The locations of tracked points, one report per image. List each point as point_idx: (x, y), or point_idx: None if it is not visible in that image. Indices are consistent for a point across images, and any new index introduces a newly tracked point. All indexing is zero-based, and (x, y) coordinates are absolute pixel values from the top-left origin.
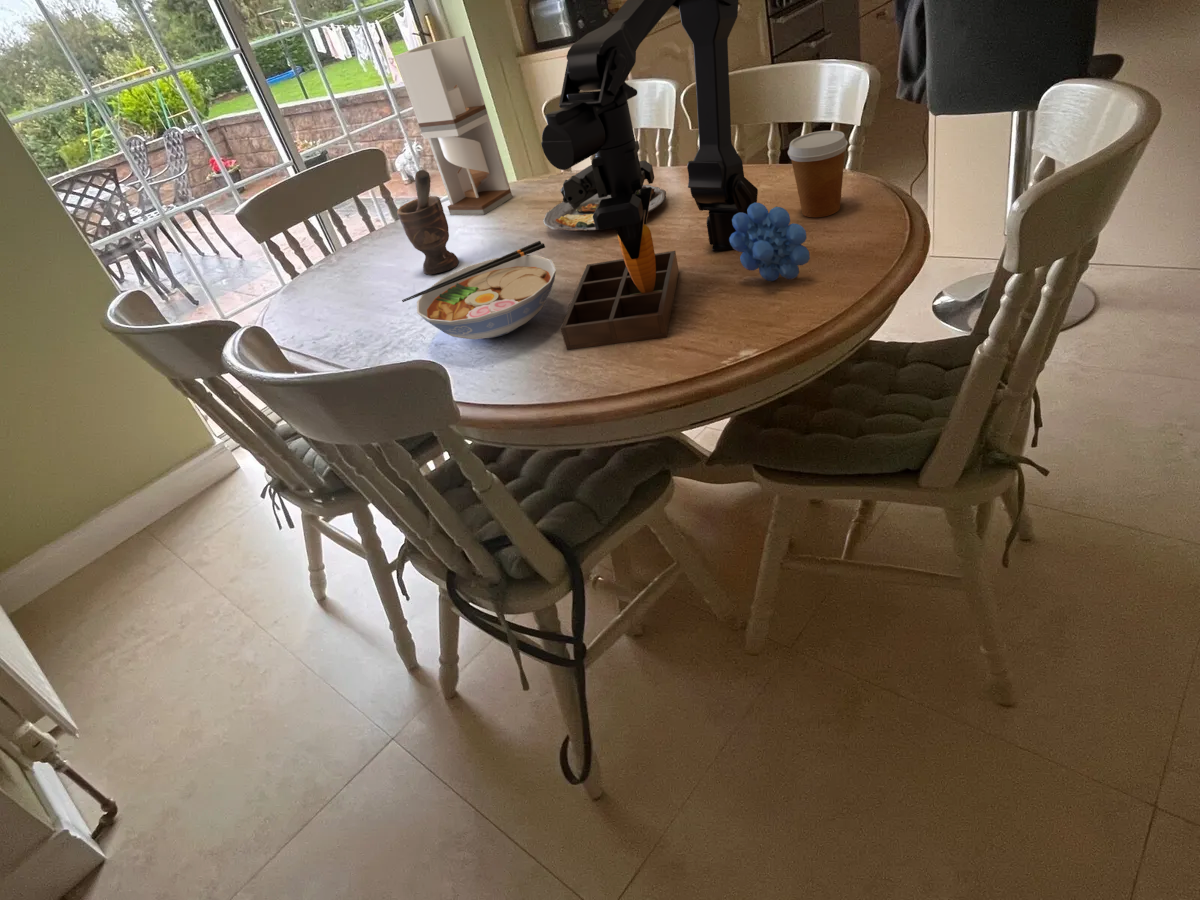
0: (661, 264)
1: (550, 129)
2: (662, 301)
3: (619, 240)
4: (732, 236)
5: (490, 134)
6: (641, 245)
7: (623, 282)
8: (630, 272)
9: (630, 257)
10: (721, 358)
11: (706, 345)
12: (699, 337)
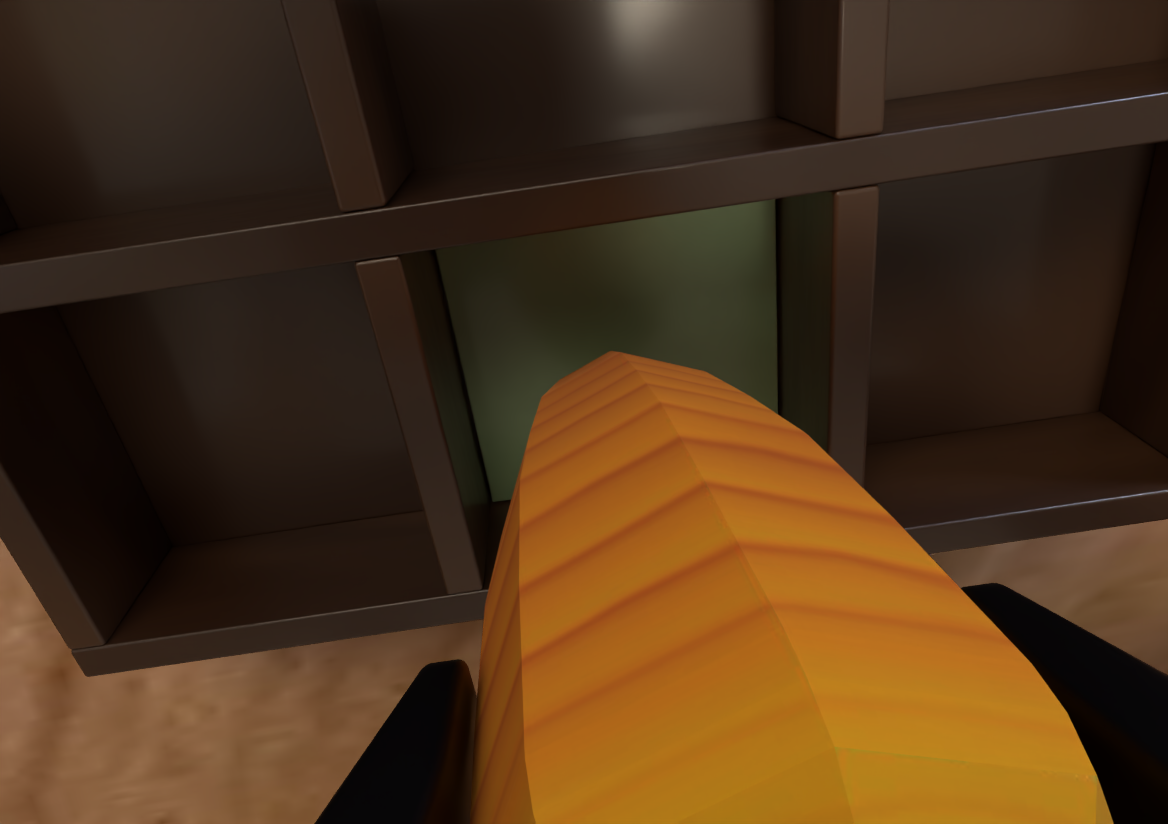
0: (1158, 360)
1: None
2: (290, 633)
3: (646, 699)
4: None
5: None
6: None
7: (720, 195)
8: (527, 449)
9: (418, 676)
10: (10, 816)
11: (115, 745)
12: (190, 704)
